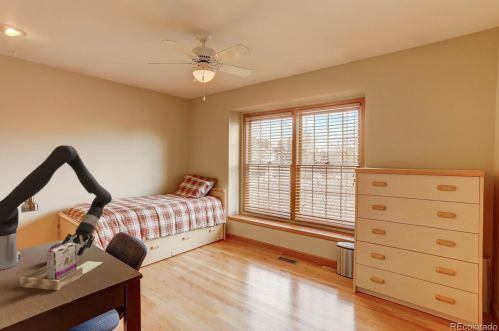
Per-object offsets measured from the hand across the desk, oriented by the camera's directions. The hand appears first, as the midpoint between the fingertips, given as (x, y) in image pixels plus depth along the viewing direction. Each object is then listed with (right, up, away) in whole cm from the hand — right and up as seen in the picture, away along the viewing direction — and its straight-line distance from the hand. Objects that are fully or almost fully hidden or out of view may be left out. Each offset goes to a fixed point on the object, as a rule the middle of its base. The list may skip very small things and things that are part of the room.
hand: (70, 254), depth 125 cm
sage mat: (+1, -10, +10) cm, 14 cm away
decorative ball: (-19, -10, +18) cm, 27 cm away
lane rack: (-5, -11, -4) cm, 13 cm away
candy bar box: (-1, -11, -4) cm, 12 cm away
